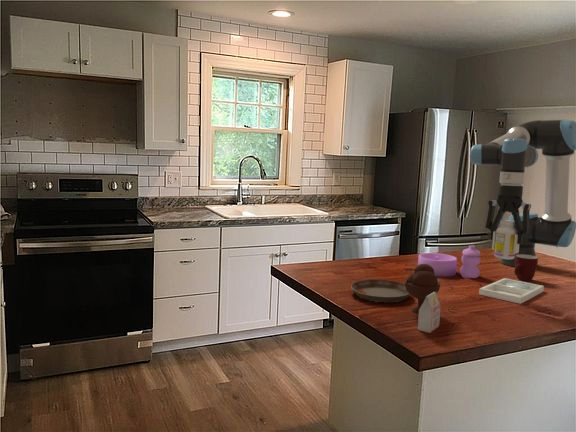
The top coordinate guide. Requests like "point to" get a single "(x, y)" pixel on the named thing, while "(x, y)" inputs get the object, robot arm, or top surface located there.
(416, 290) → the ice cream bowl
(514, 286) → the light grey round disc
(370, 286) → the plant saucer
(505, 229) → the supplement bottle
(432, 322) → the tea bag
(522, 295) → the two-compartment tray
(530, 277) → the mug
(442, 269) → the container set
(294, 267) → the top surface
